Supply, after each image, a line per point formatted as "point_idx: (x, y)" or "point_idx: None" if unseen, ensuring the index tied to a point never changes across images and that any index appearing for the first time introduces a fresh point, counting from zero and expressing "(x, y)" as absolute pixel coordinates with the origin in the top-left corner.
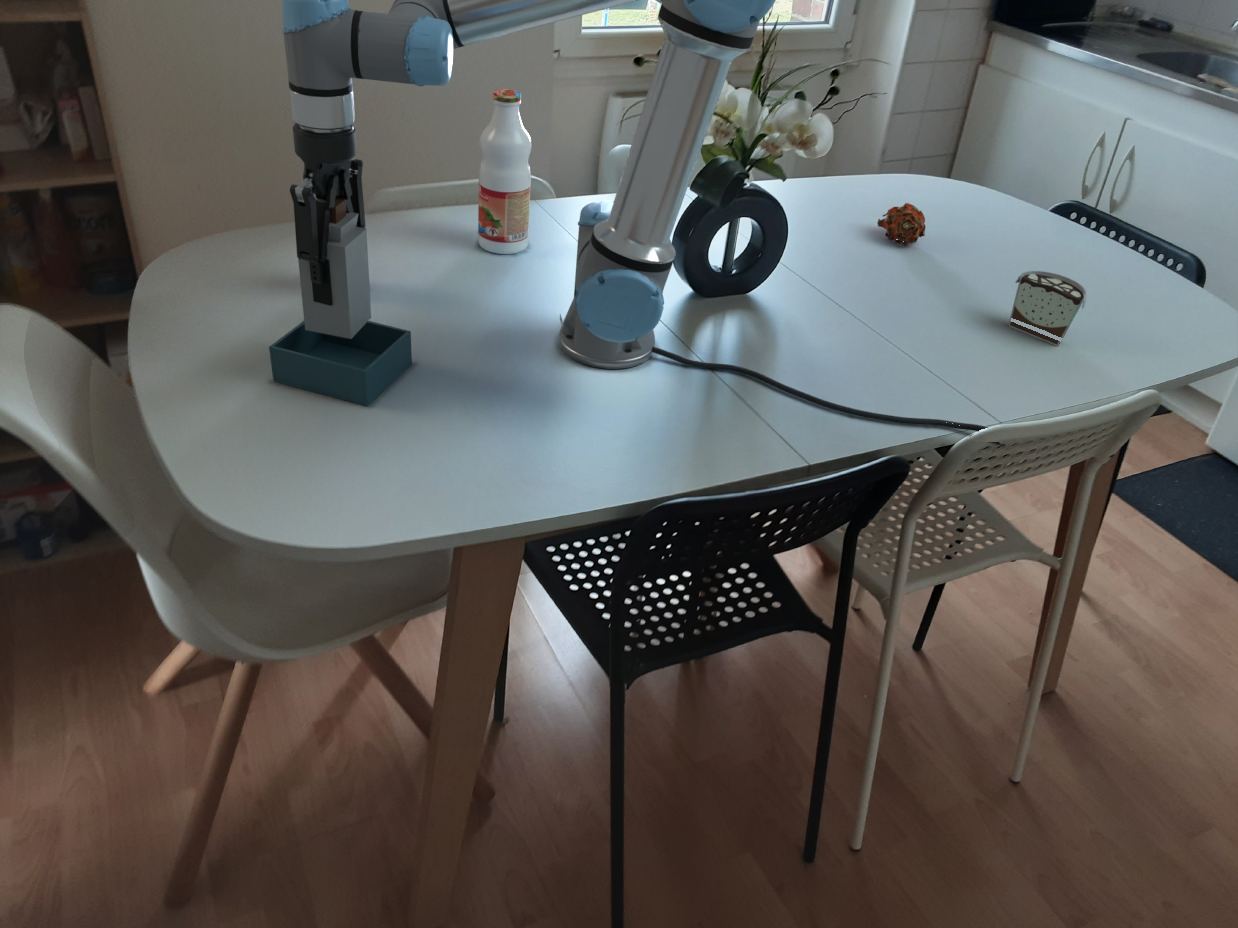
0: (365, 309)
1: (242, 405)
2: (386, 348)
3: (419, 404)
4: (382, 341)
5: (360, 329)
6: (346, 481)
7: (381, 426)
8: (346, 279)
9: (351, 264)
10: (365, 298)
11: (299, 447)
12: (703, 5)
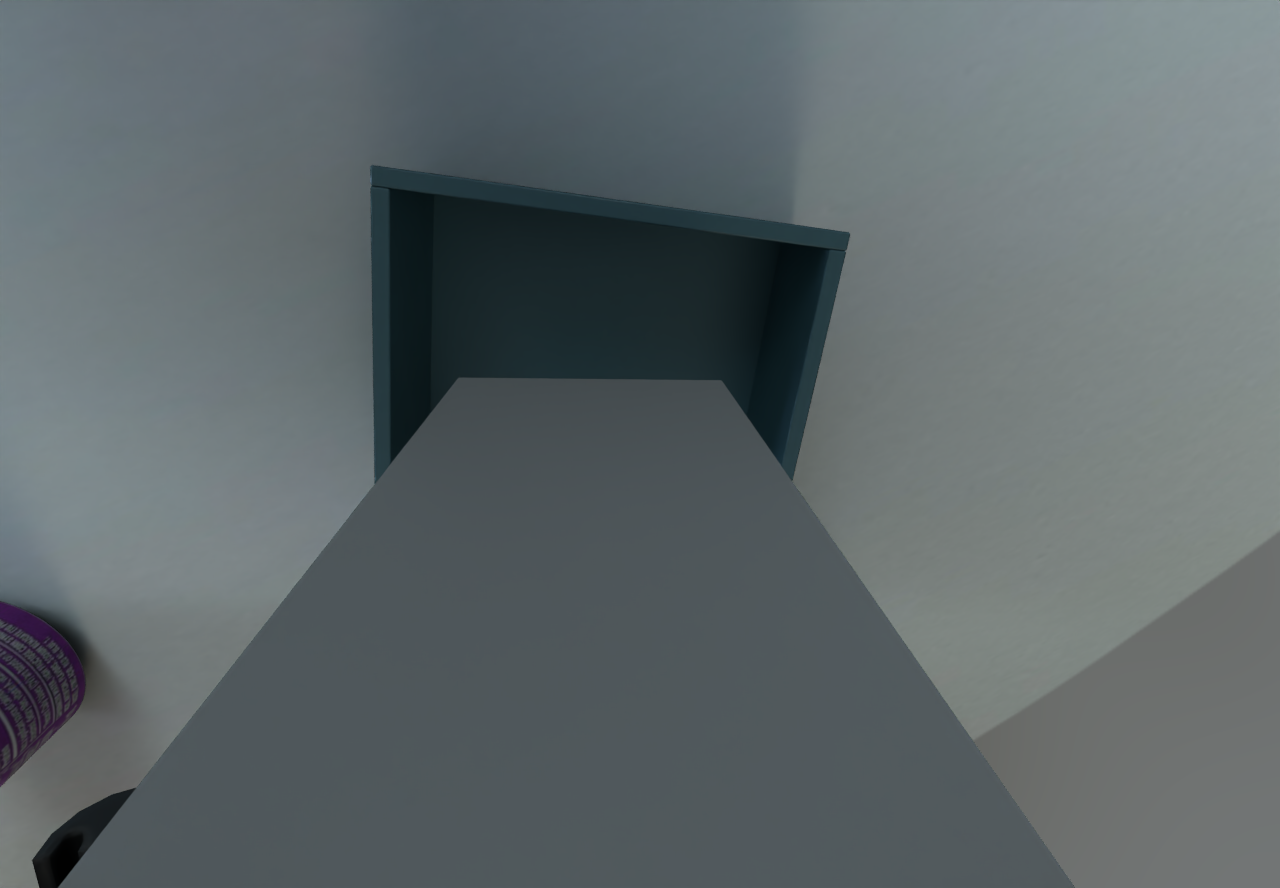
0: (515, 403)
1: (871, 594)
2: (422, 298)
3: (724, 13)
4: (414, 321)
5: (403, 437)
6: (1269, 104)
7: (916, 116)
8: (840, 563)
9: (747, 630)
10: (497, 426)
11: (1075, 344)
12: None
